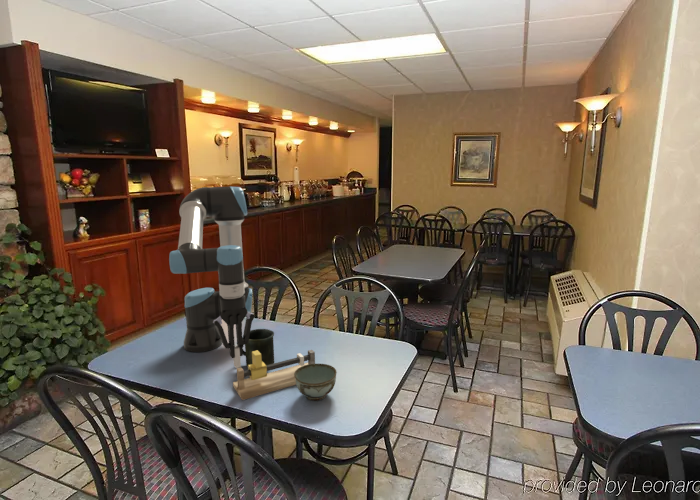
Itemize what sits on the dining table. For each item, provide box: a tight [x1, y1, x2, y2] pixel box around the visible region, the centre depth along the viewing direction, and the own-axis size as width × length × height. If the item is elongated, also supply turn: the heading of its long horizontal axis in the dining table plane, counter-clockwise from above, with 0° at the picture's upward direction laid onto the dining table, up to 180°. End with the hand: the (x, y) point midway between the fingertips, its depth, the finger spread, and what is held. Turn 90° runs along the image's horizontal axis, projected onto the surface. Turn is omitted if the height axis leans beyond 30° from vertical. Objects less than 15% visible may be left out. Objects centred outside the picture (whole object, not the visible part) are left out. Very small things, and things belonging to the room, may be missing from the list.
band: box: [296, 352, 305, 366], centre depth 147 cm, size 3×1×3 cm, turn 31°
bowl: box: [294, 363, 338, 402], centre depth 134 cm, size 14×13×8 cm
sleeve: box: [247, 350, 268, 380], centre depth 139 cm, size 4×5×8 cm
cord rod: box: [244, 354, 310, 378], centre depth 143 cm, size 1×24×1 cm, turn 121°
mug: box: [236, 328, 275, 368], centre depth 156 cm, size 11×15×12 cm
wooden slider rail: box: [232, 349, 316, 401], centre depth 143 cm, size 10×28×8 cm, turn 121°
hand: (237, 365), depth 135 cm, fingers closed
